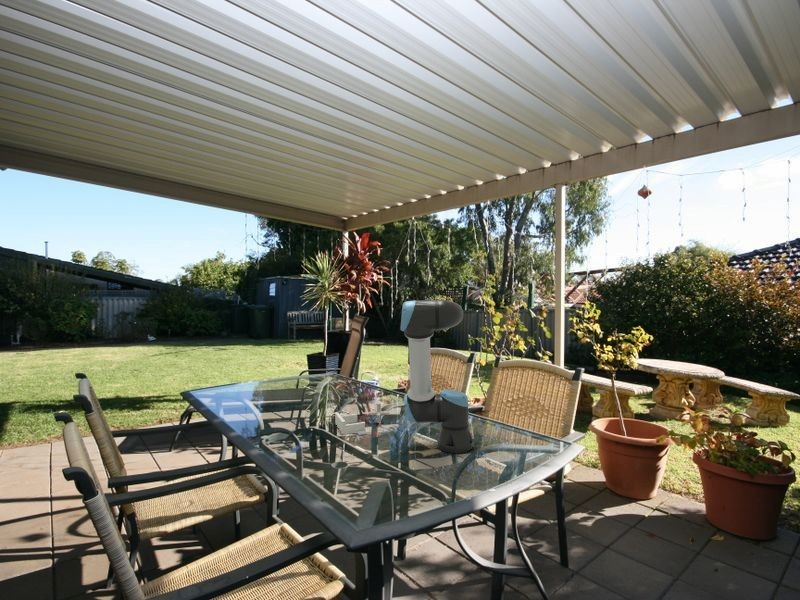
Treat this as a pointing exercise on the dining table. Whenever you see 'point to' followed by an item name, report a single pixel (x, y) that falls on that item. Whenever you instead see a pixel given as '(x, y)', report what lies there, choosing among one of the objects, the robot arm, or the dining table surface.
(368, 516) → the dining table surface
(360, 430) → the dock
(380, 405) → the pipe connector
